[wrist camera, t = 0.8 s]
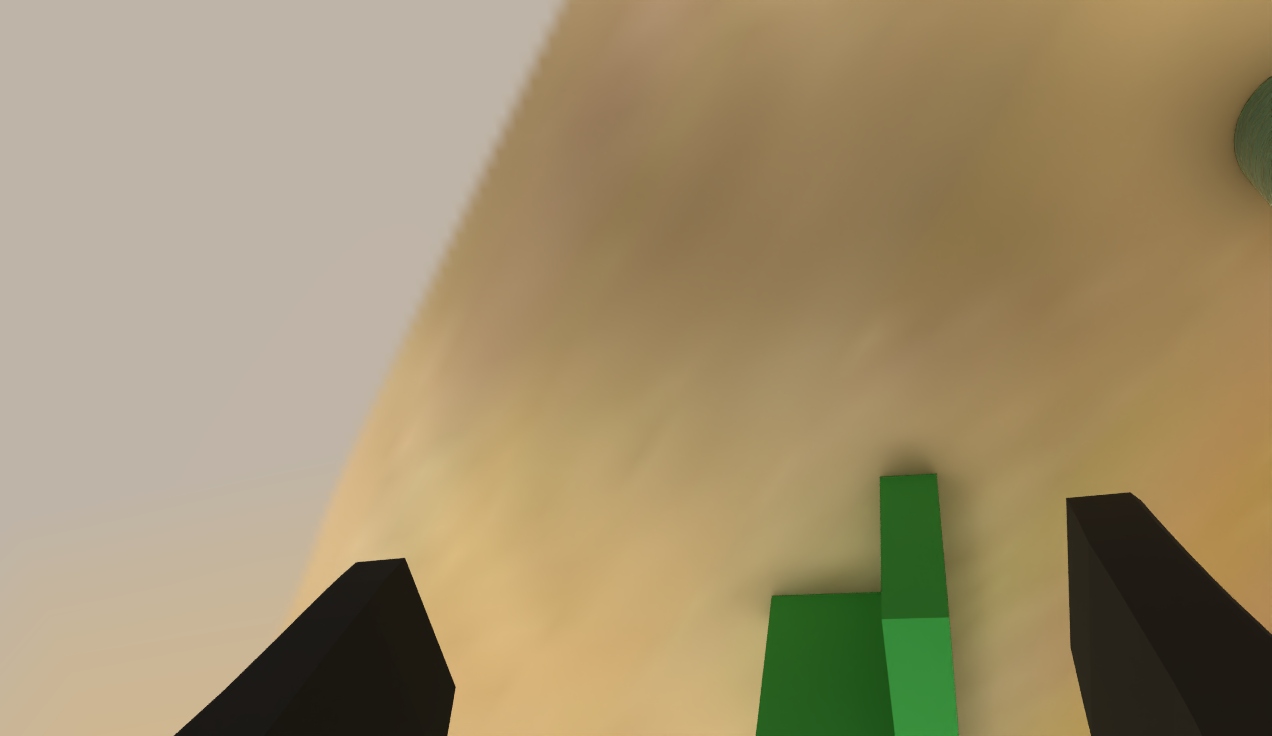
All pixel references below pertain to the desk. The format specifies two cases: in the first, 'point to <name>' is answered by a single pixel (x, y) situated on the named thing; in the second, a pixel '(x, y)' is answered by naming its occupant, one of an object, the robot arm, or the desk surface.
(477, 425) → the desk surface
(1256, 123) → the long pin
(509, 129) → the desk surface
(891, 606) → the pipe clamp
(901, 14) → the desk surface
